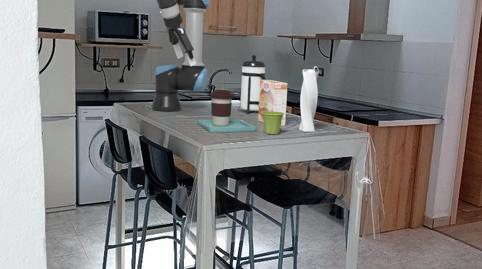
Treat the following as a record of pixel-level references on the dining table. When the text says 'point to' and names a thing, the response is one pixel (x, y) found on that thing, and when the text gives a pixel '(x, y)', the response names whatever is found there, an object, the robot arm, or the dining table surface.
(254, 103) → the coffee press
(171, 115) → the dining table surface
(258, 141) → the dining table surface
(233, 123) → the tray
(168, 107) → the robot arm
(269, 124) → the plant pot
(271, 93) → the coffeecake box
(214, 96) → the coffee cup
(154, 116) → the dining table surface
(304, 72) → the skyscraper
